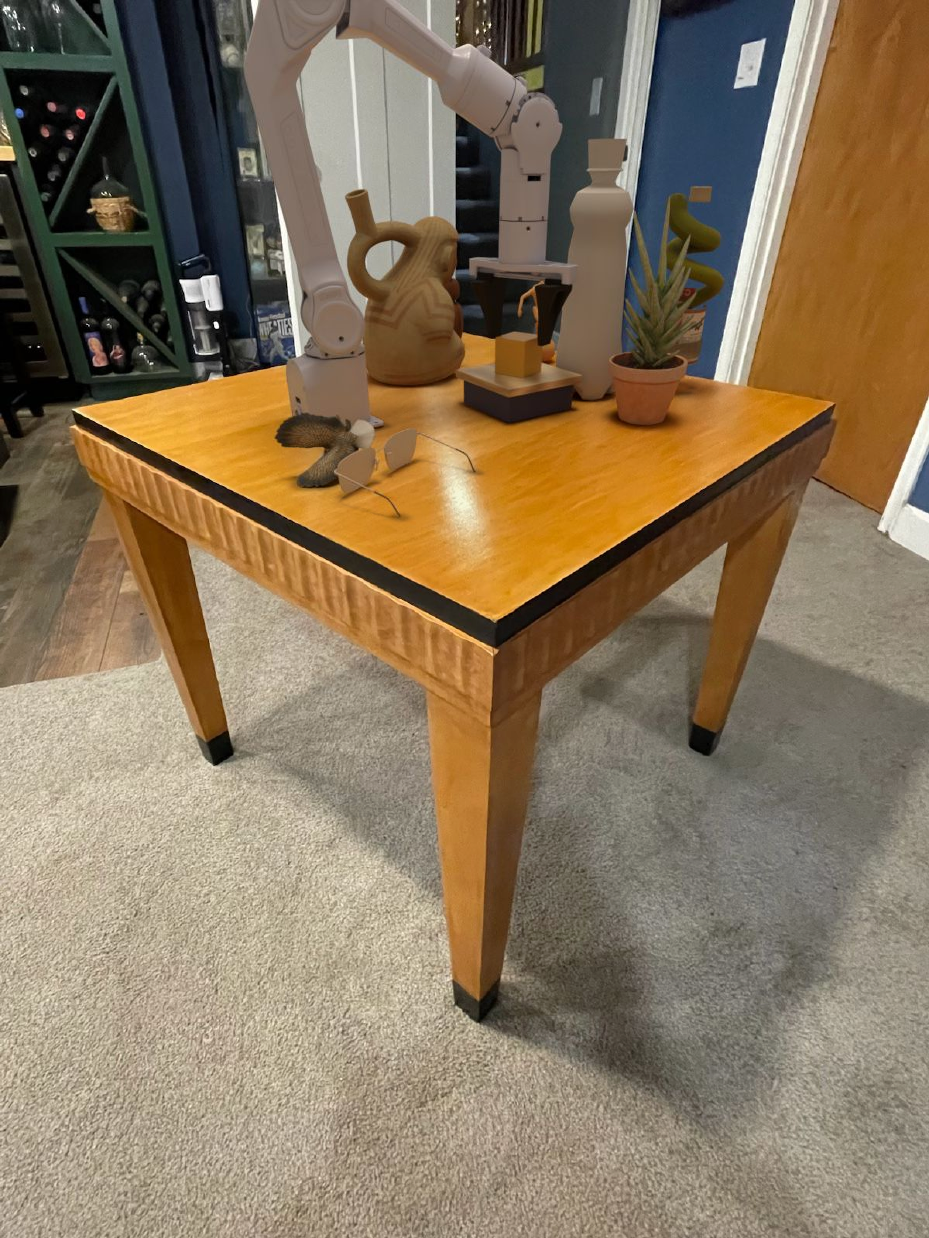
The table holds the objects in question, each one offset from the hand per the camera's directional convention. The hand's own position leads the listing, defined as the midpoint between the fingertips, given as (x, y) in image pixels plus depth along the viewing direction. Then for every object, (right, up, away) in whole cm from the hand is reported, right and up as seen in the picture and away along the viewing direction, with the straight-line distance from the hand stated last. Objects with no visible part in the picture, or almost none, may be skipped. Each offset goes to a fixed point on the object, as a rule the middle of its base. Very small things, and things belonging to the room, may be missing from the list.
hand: (518, 341), depth 89 cm
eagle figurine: (-22, -20, -15) cm, 33 cm away
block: (0, -3, +2) cm, 4 cm away
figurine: (+6, +7, +26) cm, 28 cm away
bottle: (+10, -4, +10) cm, 15 cm away
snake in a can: (+22, -3, +12) cm, 25 cm away
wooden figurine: (-10, +13, +36) cm, 39 cm away
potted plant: (+16, -10, 0) cm, 19 cm away
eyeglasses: (-13, -22, -18) cm, 32 cm away
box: (0, -7, +5) cm, 8 cm away
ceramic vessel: (-16, +2, +19) cm, 24 cm away
